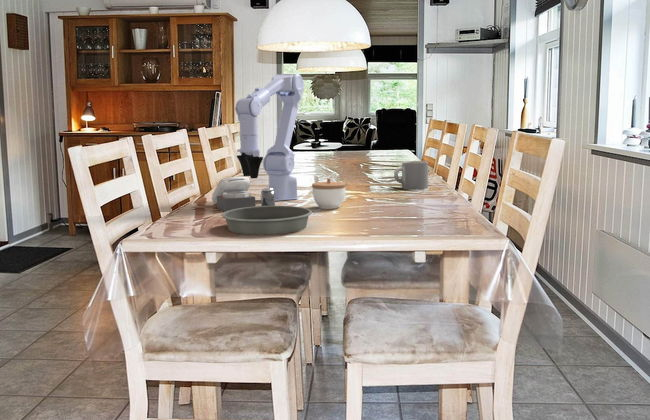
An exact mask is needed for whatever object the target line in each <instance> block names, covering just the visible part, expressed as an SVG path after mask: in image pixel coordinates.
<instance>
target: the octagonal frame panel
mask: <svg viewBox="0 0 650 420" xmlns="http://www.w3.org/2000/svg"><path fill="white" fill-rule="evenodd" d="M255 206H256V196H254V195H251V194H250V192H249V191H248V190H247V191H230V192H224V193H222V195H221V196H217V204H216V208H217V209H219V210H221V211H223V212H226V211H229V210H233V209H238V208H245V207H255Z"/></svg>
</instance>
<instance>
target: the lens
mask: <svg viewBox="0 0 650 420" xmlns="http://www.w3.org/2000/svg"><path fill="white" fill-rule="evenodd" d="M260 202H261V206H276V201H275V191H274V188H269V187H264V188H261V191H260Z"/></svg>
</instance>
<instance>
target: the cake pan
mask: <svg viewBox="0 0 650 420" xmlns="http://www.w3.org/2000/svg"><path fill="white" fill-rule="evenodd" d="M312 214H313V211H312V210H311V209H309V208H307V207H300V206H295V205H275V206H262V205H257V206H256V205H255V207H245V208H238V209H233V210H229V211H226V212H225V211H223V212H222V213H221V218H223V219H224V220H225V222H226V225H227V228H228V230H229V232H232V231H233V233H236V234H242V233H243V234H244V235H255V234H267V235H278V234H277V233H283V234H289V233H288V232H291V233H295V231H296V232H300V231H303V230H305V229H306V228H307V227H306V226H308V221H309V216H311V215H312ZM304 228H305V229H304ZM302 229H303V230H302ZM299 230H300V231H299ZM243 234H242V235H243Z"/></svg>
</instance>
